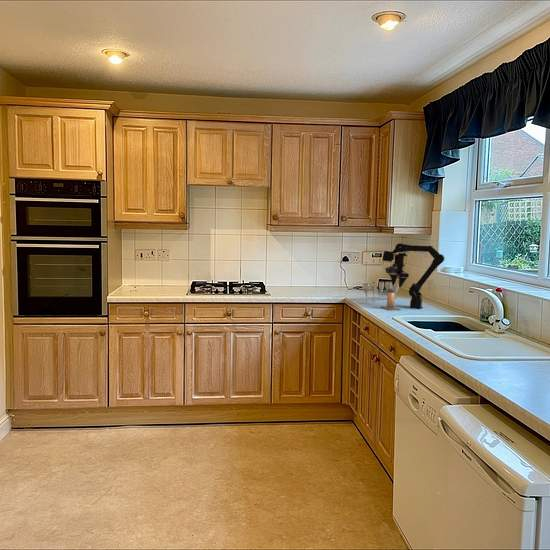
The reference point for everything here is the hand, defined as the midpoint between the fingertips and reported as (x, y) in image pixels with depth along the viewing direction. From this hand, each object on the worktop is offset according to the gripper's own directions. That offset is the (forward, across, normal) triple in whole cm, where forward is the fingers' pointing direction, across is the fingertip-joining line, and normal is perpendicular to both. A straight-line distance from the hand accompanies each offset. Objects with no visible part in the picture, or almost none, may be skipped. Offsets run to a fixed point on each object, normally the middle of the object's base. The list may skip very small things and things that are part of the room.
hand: (396, 286), depth 341 cm
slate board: (+13, +8, -7) cm, 17 cm away
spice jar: (+13, +8, -7) cm, 16 cm away
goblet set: (+14, -24, +2) cm, 28 cm away
